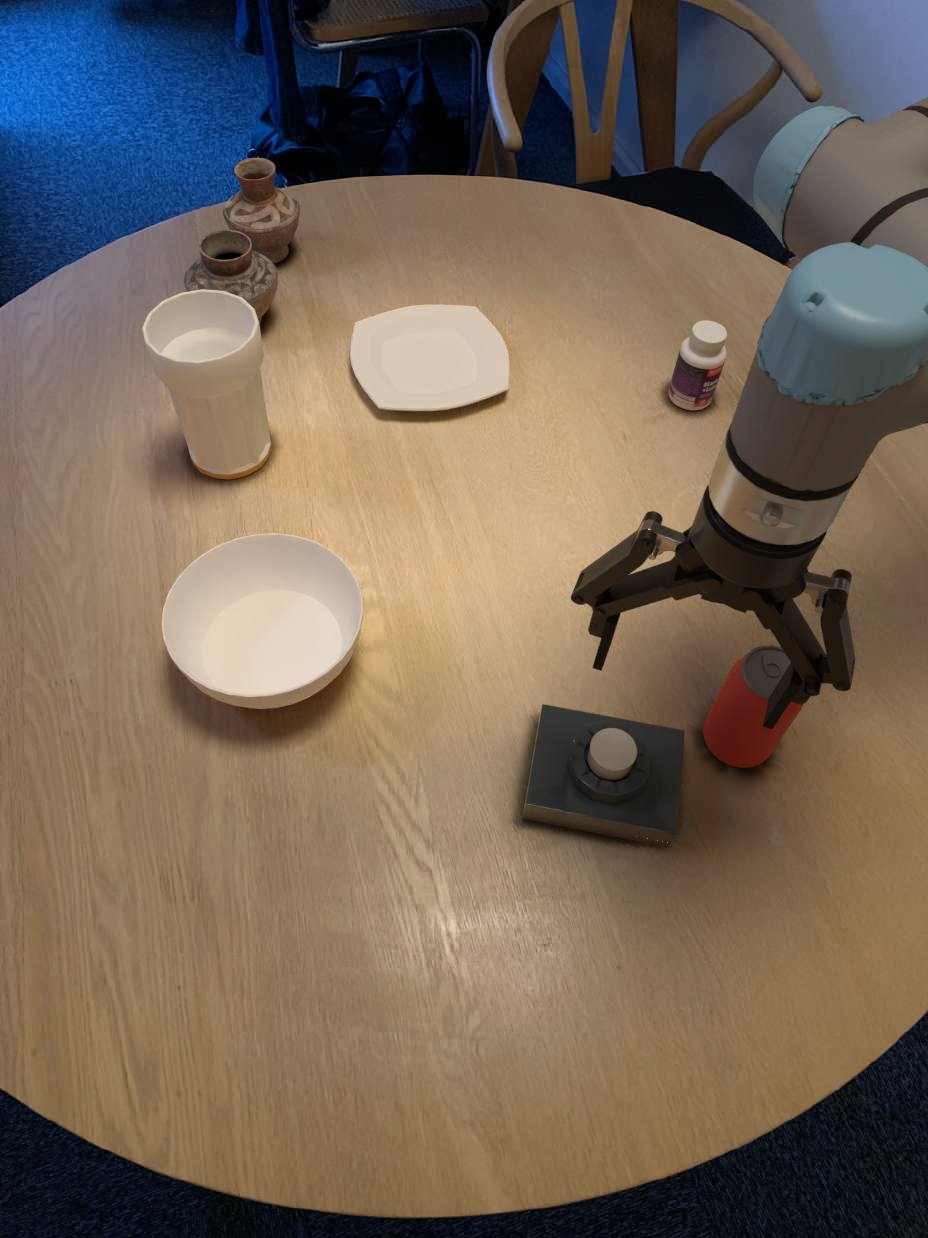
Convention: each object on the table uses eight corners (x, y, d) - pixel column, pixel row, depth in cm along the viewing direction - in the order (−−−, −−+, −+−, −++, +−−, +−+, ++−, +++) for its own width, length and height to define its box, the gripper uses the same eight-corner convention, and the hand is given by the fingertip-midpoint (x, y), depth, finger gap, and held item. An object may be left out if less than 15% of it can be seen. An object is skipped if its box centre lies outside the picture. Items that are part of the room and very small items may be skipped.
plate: (526, 408, 112) (527, 395, 110) (367, 432, 108) (366, 419, 107) (485, 308, 122) (486, 295, 120) (339, 327, 119) (337, 314, 117)
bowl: (406, 656, 91) (405, 614, 85) (255, 773, 84) (242, 736, 78) (289, 548, 98) (280, 503, 92) (141, 648, 91) (120, 605, 85)
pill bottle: (702, 417, 112) (723, 352, 104) (660, 401, 113) (678, 335, 105) (718, 391, 114) (740, 326, 106) (677, 375, 116) (696, 309, 108)
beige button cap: (634, 743, 82) (639, 732, 80) (630, 784, 79) (635, 774, 78) (589, 734, 82) (592, 723, 80) (584, 775, 80) (587, 765, 78)
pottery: (315, 235, 130) (306, 151, 120) (272, 353, 116) (258, 269, 106) (235, 227, 130) (220, 142, 120) (183, 343, 116) (161, 258, 106)
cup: (163, 474, 104) (120, 348, 89) (205, 406, 110) (172, 279, 96) (258, 497, 102) (230, 373, 88) (296, 427, 109) (276, 301, 94)
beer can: (755, 702, 90) (796, 633, 80) (782, 763, 86) (828, 699, 76) (690, 714, 89) (723, 646, 79) (715, 776, 85) (753, 713, 75)
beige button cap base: (676, 746, 87) (689, 720, 83) (669, 847, 81) (682, 825, 77) (538, 720, 88) (544, 694, 84) (522, 818, 82) (527, 795, 78)
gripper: (550, 484, 56) (519, 669, 73) (979, 617, 51) (837, 780, 69) (587, 404, 60) (548, 598, 77) (987, 521, 56) (851, 698, 73)
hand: (684, 684), depth 73 cm, fingers open, 13 cm apart
